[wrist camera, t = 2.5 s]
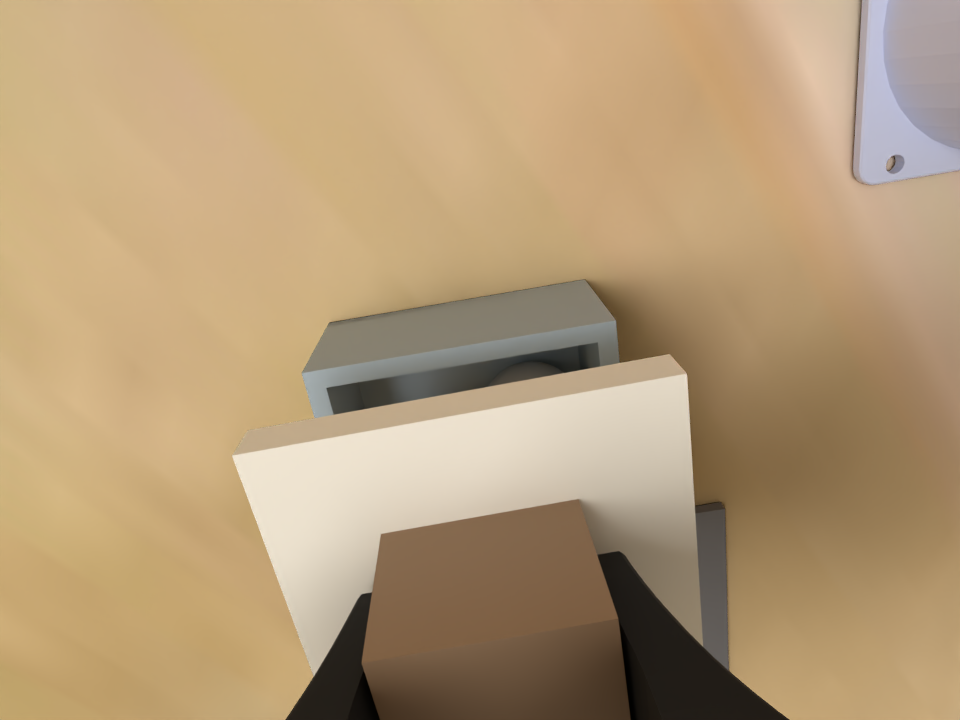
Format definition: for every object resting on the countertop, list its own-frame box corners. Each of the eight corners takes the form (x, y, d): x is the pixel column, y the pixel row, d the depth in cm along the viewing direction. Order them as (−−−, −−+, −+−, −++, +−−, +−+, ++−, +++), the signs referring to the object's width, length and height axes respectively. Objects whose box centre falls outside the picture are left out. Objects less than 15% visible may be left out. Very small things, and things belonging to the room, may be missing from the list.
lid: (669, 354, 13) (766, 463, 9) (691, 670, 16) (770, 852, 12) (247, 430, 13) (162, 570, 9) (352, 728, 16) (323, 926, 12)
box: (584, 279, 20) (616, 320, 16) (607, 496, 23) (637, 573, 19) (329, 322, 20) (301, 373, 16) (384, 533, 23) (372, 616, 19)
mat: (720, 502, 23) (725, 508, 23) (725, 684, 26) (729, 693, 26) (472, 542, 23) (472, 549, 23) (508, 718, 27) (509, 727, 26)
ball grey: (567, 339, 20) (586, 377, 17) (577, 424, 21) (596, 472, 18) (472, 355, 20) (476, 396, 17) (487, 438, 21) (492, 489, 19)
